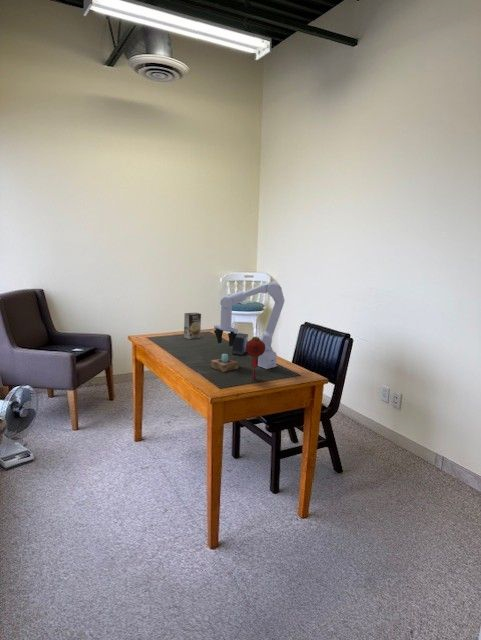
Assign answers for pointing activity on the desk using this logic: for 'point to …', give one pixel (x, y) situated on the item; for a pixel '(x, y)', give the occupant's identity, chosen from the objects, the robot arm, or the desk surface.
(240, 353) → the small box
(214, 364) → the socket block
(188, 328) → the coffee box
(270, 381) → the desk surface
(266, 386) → the desk surface
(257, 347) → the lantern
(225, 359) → the peg
